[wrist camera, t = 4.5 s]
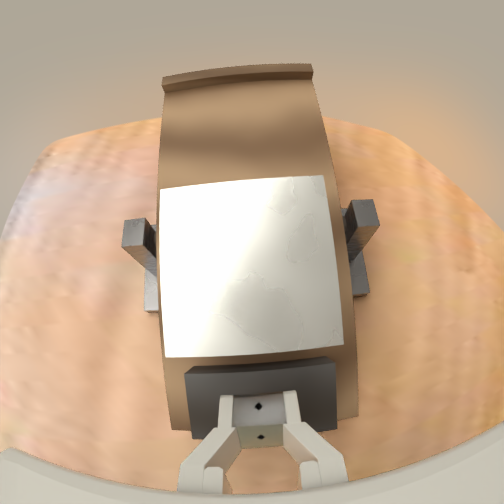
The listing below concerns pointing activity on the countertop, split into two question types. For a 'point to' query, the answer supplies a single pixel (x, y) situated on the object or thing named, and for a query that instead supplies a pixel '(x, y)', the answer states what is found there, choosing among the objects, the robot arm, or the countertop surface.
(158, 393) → the countertop surface
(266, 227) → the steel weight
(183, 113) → the board
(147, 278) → the balance stand
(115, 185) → the countertop surface
